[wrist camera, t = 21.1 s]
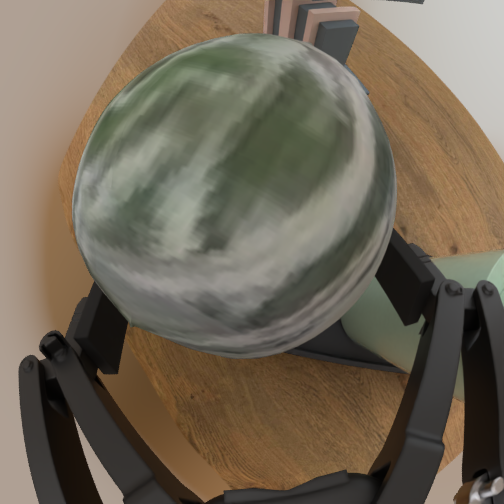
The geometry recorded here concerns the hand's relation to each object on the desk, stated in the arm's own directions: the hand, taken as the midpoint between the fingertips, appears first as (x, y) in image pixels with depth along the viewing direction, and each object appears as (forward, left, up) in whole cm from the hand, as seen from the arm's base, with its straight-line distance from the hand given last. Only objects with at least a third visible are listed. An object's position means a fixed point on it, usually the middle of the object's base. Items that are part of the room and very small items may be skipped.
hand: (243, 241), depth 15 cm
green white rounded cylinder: (0, 0, -16) cm, 16 cm away
